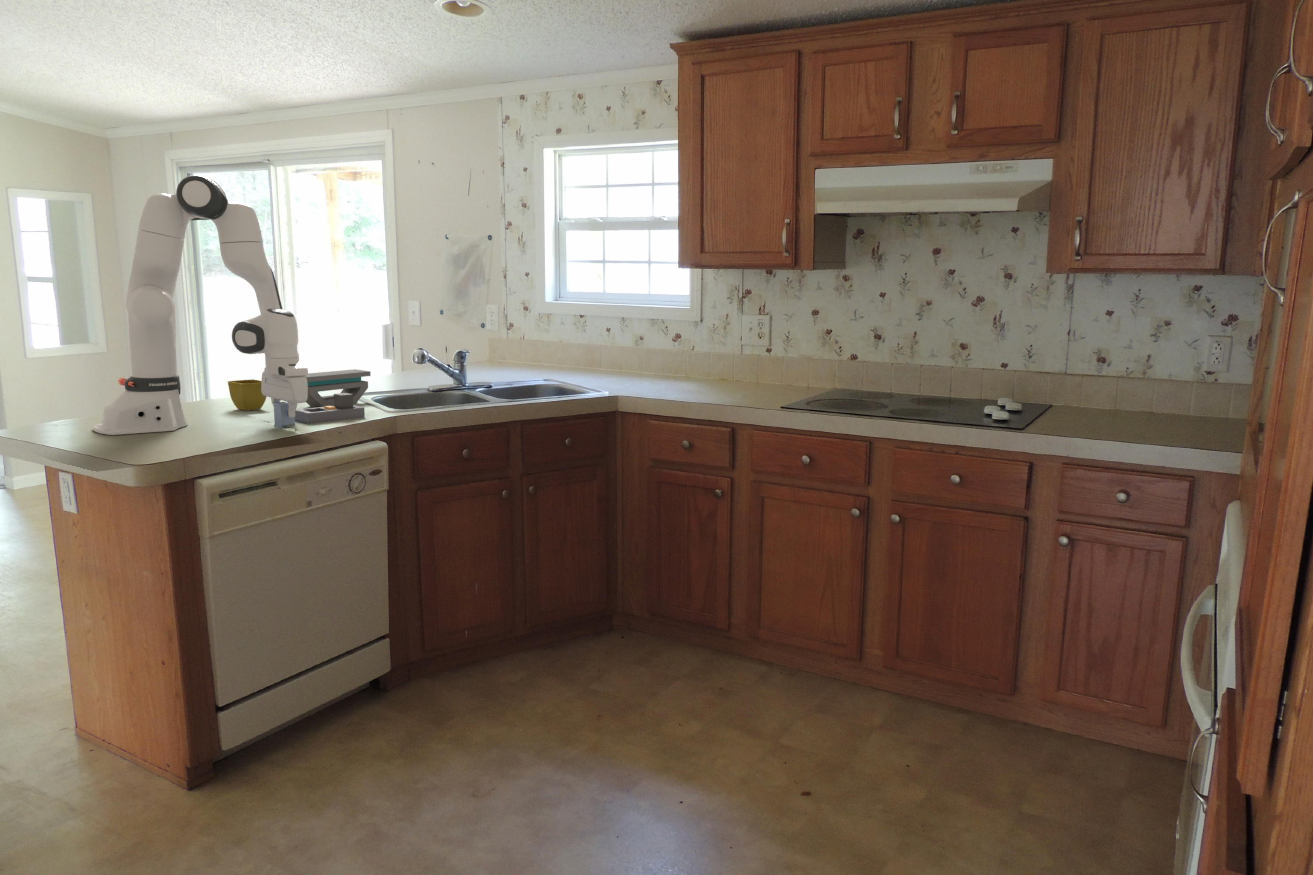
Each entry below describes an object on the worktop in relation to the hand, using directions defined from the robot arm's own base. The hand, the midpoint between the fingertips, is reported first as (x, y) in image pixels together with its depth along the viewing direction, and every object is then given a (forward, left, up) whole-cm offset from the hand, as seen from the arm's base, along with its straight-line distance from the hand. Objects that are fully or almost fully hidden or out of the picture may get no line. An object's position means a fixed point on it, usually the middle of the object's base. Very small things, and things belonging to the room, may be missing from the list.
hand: (284, 415), depth 254 cm
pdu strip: (+14, 0, -3) cm, 14 cm away
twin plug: (+18, 0, -2) cm, 19 cm away
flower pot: (+6, +35, -4) cm, 36 cm away
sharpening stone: (+30, +27, -4) cm, 40 cm away
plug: (0, 0, -3) cm, 3 cm away
